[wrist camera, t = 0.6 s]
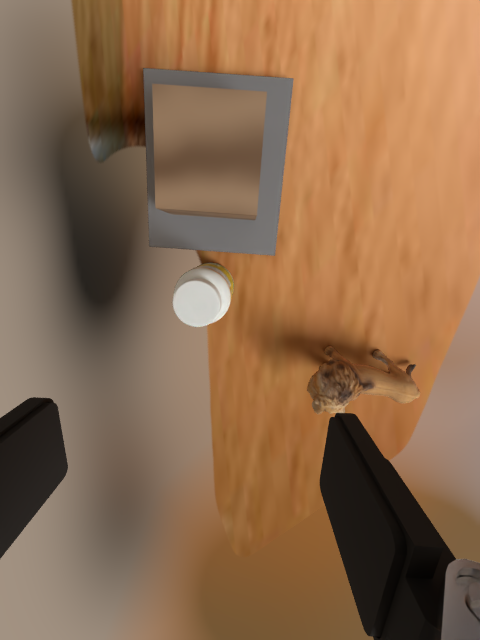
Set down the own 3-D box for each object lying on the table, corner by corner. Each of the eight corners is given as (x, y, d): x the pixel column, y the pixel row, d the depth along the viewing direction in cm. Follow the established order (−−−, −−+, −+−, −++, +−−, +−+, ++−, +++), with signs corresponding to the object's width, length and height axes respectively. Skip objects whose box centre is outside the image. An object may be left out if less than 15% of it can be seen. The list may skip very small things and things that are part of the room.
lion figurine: (295, 382, 34) (312, 429, 25) (297, 344, 32) (316, 381, 24) (409, 380, 33) (465, 429, 25) (416, 342, 32) (479, 380, 23)
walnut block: (170, 114, 25) (152, 83, 20) (262, 121, 25) (267, 91, 20) (171, 214, 27) (155, 208, 23) (255, 220, 27) (256, 215, 22)
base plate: (146, 73, 24) (143, 68, 24) (291, 83, 24) (293, 78, 24) (151, 246, 29) (149, 246, 28) (274, 255, 29) (274, 255, 28)
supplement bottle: (212, 252, 29) (197, 256, 20) (243, 287, 30) (242, 306, 21) (179, 283, 30) (150, 301, 21) (210, 316, 31) (196, 346, 22)
